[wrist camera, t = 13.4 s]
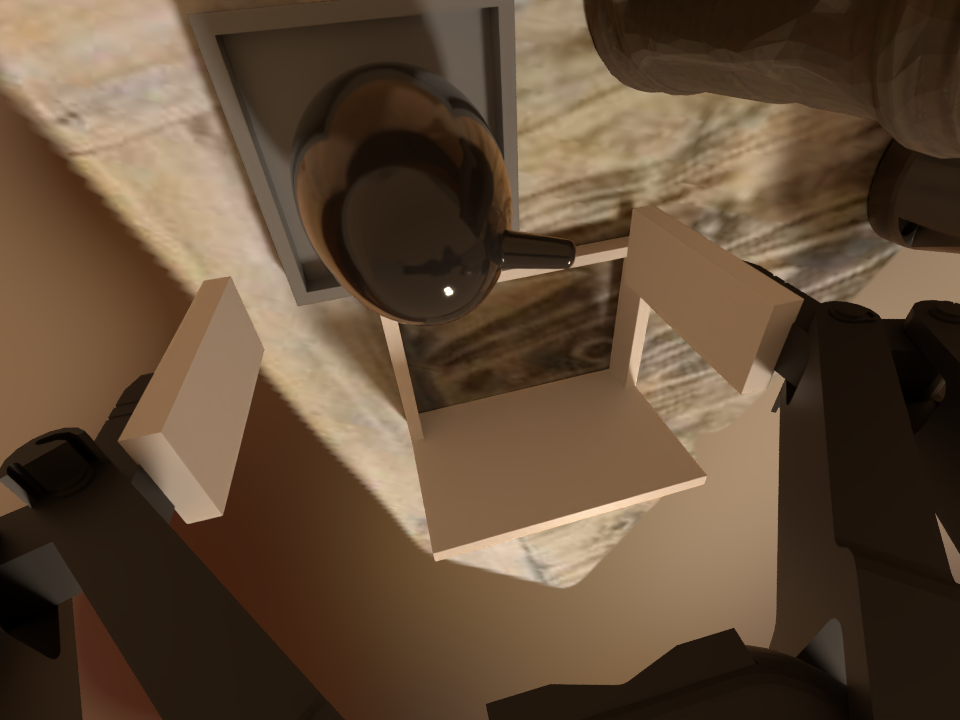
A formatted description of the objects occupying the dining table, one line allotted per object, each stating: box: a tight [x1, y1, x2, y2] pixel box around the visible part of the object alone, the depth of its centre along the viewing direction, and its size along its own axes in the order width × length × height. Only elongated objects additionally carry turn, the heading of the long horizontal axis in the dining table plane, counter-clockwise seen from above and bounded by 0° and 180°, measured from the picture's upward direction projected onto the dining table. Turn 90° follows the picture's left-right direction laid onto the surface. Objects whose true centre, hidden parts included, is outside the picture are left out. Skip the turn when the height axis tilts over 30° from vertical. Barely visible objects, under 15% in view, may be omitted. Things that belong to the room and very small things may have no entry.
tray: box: [186, 0, 519, 306], centre depth 26 cm, size 15×15×2 cm
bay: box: [380, 236, 707, 561], centre depth 32 cm, size 20×14×13 cm
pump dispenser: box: [290, 61, 576, 326], centre depth 20 cm, size 10×10×15 cm
